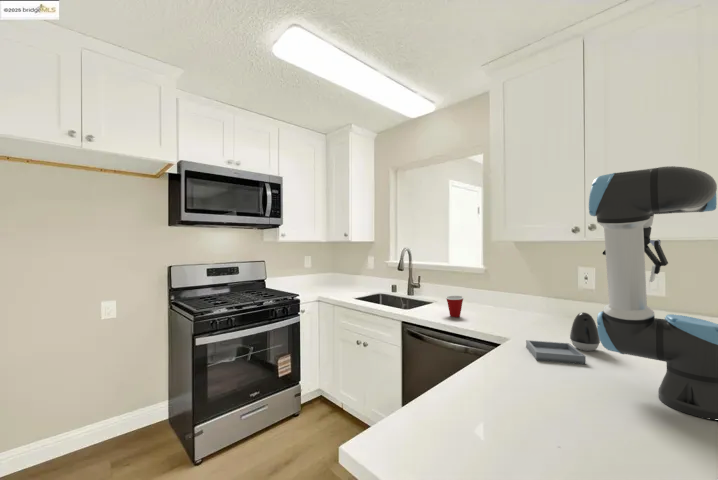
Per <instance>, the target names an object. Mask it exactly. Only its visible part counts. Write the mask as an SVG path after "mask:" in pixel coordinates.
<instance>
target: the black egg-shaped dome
mask: <svg viewBox="0 0 718 480" xmlns="http://www.w3.org/2000/svg"><path fill="white" fill-rule="evenodd" d="M596 323H597V322H596V320H595V319H594V318H593V317H592V315H591V314H589V313H587V312H579V313H578V314H577V315H575V317H574V320H573V322H572V325H571V329H570V332H569V333H570V334H569V339H570V342H571V345H572V346H573V347H574V348H576V349H577V350H579V351H585V352H592V351H593V352H594V351H595V350H597V349H598V347H599V344H600V343H601V341H600V338H599V335H598V329H597V326H598V325H597V324H596Z"/></svg>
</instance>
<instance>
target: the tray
mask: <svg viewBox="0 0 718 480" xmlns="http://www.w3.org/2000/svg"><path fill="white" fill-rule="evenodd" d="M525 342H526V343H525V348H526V349H527V350H528V351H529V353H530V354H531V355H532V357H533V358H534V359H535V361H540V362H541V361H543V362H551V363H562V362H563V363H562V364H573V363H574V364H575V365H586V362H587V361H586V360H587V359H586V355H584V353H582V352H581V350H579V349H578V348H576V347H575V346H574V345H573V344H572V343H567V342H557V341H556V342H555V341H554V342H553V341H546V340H545V341H542V340H528V339H526V340H525Z"/></svg>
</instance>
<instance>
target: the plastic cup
mask: <svg viewBox="0 0 718 480" xmlns="http://www.w3.org/2000/svg"><path fill="white" fill-rule="evenodd" d="M464 298H465V297H464V296H462V295H447V296H445V299H446V302H447V306H448V312H449V316H450V317H452V318H459V317H461V312H462V307H463V301H464Z"/></svg>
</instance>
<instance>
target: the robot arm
mask: <svg viewBox="0 0 718 480" xmlns="http://www.w3.org/2000/svg"><path fill="white" fill-rule="evenodd" d="M717 187H718V186H717V182H716V180H715V178H713V176H711V175H710V174H708V173H707V172H705V171H702V170H699V169H697V168H696V169H695V168H693V167H692V168H691V167H685V166H674V165H673V166H670V165H669V166H659V167H655V168H654V167H653V168H645V169H639V170H630V171H628V170H627V171H621V172H613V173H609V174H603V175H599V176H597V177H596V178H595V179H594V180H593V181H592V184H591V187H590V191H589V197H588V213H589V215H590V216H592V217H596V222H597V224H599V226H601V227H603V230H604V231H603V233H604V251H603V252H602V253H601V254H602V255H603V256H605V262H606V279H607V280H606V281H607V292H608V293H607V294H608V295H607V296H608V303H607V304H606V305H604V306H603V308H602V311H599V312H598V313H597V317H596V323H597V324H596V326H597V329H598V335H599V338H600V343H601V345H602V346H603V348H604V349H606V350H607V351H611V352H615V353H619V354H621V355H629V356H634V357H639V358H643V359H644V358H645V359H648V360H649V359H650V360H654V361H660V362H665V363H666V372H665V375H664V377H663V379H662V381H661V384H660V386H659V387H658V394H657V395H658V399H659V400H660V401H661V402H662V403H663V404H664V405H666V406H668V407H670V408H671V409H674V410H676V411H679V412H681V413H684V414H687V415H691V416H694V417H697V416H698V417H697V418H701V417H703V418H702V419H705V418H710V419H718V323H715V322H712V321H709V320H705V319H701V318H696V317H693V316H687V315H680V314H673V313H671V314H670V313H669V314H668V313H667V314H666V315H665V317H664V318H657V317H655V311H654V310H653V309H652V308H650V307H649V306H648V302H647V301H648V300H647V299H648V298H647V279H646V278H647V277H646V276H647V275H646V260H645V259H646V258H645V257H646V256H648V258H649V259H650V260H651V262H652V263H653V265H652V267H651V272H650V277H649V282H650V283H652V282H654V281H655V279H656V278H655V277H656V275H658V274H660V272H661V267H666V266H667V265H668V264H669V262H668V260H667V257H666V254H665V253H664V251H663V248H662V246H661V240H660V239H651V234H652V227H651V226H653V223H654V219H655V218H654V216H655V215H664V214H666V215H667V214H681V213H682V214H683V213H684V214H686V213H704V212H712V211H715V210H716V209H717V199H718V198H717V189H718V188H717ZM649 244H651V246H653V248H654V251H655V252H656V254H657V256H656V254H655V253H654V252H653V251H652V250H651V248H650V246H649ZM645 254H646V255H645ZM710 419H709V420H710Z"/></svg>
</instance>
